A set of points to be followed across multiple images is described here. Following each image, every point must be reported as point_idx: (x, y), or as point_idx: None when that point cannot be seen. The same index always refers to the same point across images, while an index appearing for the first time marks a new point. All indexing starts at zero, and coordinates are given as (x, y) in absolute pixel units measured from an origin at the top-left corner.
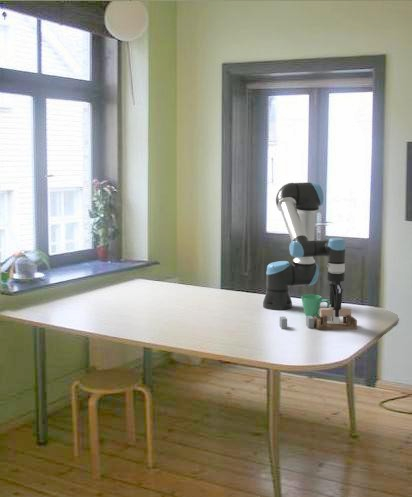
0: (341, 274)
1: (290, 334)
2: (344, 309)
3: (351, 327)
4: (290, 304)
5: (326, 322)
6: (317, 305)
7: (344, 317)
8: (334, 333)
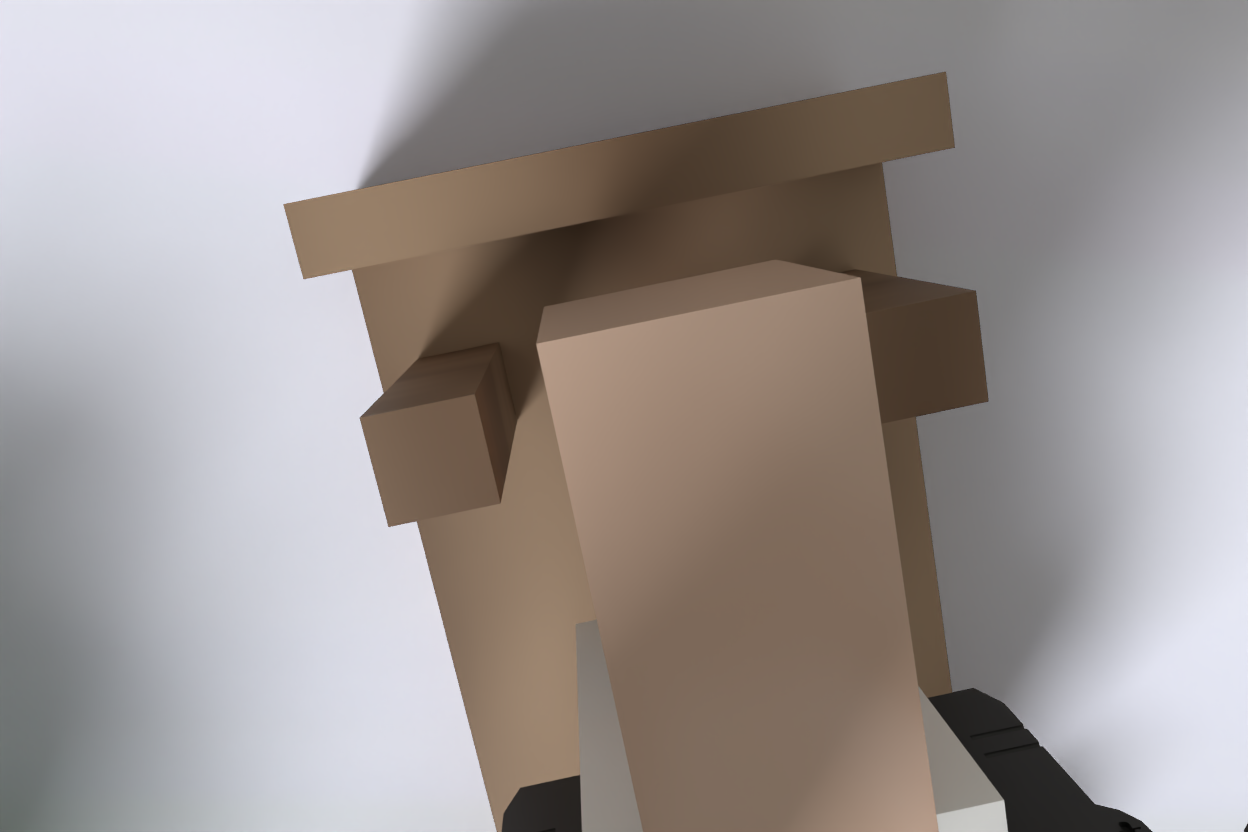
0: None
1: None
2: (901, 588)
3: (884, 244)
4: None
5: None
6: None
7: (506, 437)
8: (1234, 647)
